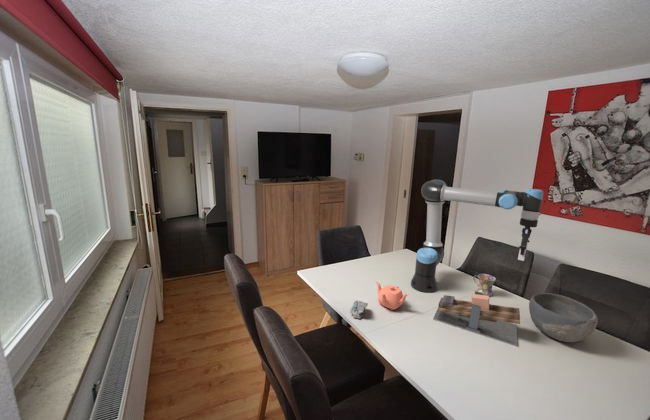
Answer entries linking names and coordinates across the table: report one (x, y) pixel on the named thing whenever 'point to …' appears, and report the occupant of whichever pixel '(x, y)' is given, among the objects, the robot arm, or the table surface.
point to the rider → (481, 301)
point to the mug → (485, 284)
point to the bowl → (562, 317)
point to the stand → (480, 325)
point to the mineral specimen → (358, 309)
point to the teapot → (390, 296)
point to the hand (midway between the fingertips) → (521, 256)
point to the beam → (491, 315)
